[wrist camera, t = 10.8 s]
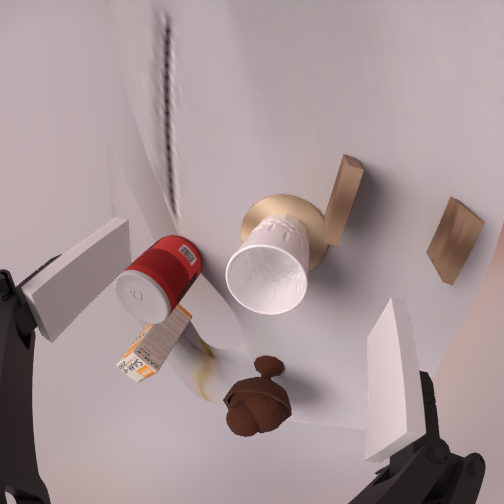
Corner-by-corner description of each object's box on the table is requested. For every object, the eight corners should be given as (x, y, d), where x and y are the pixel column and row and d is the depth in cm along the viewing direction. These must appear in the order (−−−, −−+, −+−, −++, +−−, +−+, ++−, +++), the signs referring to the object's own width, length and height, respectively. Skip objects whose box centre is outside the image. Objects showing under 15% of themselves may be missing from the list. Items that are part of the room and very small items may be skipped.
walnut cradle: (343, 154, 29) (348, 164, 23) (459, 200, 27) (484, 222, 21) (324, 217, 33) (323, 242, 27) (435, 255, 31) (452, 285, 25)
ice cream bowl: (249, 382, 52) (226, 446, 39) (233, 344, 47) (202, 415, 35) (302, 383, 48) (289, 453, 36) (293, 343, 44) (275, 423, 31)
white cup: (324, 225, 33) (322, 268, 24) (297, 275, 37) (286, 326, 29) (264, 197, 33) (240, 230, 25) (242, 250, 37) (216, 294, 29)
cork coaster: (250, 184, 34) (249, 185, 33) (339, 209, 32) (339, 211, 32) (235, 260, 39) (234, 262, 39) (313, 283, 38) (312, 286, 37)
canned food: (156, 227, 40) (111, 264, 31) (206, 242, 39) (168, 286, 30) (156, 270, 44) (117, 311, 34) (201, 285, 43) (168, 333, 33)
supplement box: (172, 296, 46) (131, 350, 34) (193, 316, 46) (158, 373, 35) (151, 316, 50) (114, 365, 39) (170, 333, 51) (137, 384, 39)
